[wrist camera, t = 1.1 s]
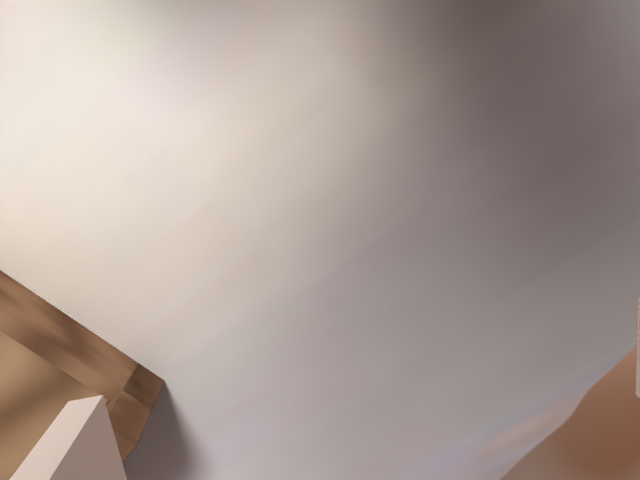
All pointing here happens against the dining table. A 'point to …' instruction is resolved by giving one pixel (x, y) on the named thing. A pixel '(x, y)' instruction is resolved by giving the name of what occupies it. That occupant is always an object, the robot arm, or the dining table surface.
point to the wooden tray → (60, 376)
